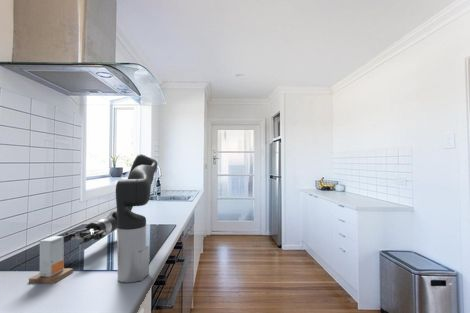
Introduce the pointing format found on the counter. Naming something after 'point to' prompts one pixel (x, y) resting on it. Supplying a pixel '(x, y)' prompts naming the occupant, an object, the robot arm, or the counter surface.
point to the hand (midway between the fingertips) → (73, 239)
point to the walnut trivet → (51, 279)
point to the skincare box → (51, 256)
